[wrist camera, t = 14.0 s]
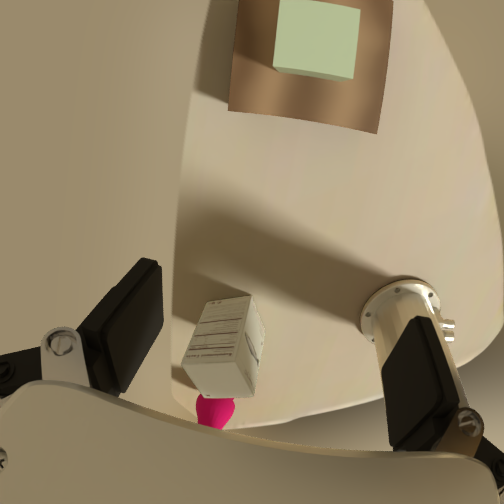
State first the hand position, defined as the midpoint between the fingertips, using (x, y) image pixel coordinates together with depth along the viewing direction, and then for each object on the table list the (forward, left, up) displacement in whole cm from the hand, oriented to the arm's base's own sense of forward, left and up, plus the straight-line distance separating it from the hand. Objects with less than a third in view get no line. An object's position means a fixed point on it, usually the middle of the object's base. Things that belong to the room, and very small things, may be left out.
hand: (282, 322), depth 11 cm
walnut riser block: (0, -12, -26) cm, 28 cm away
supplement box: (+5, +24, -26) cm, 36 cm away
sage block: (0, -12, -21) cm, 24 cm away
